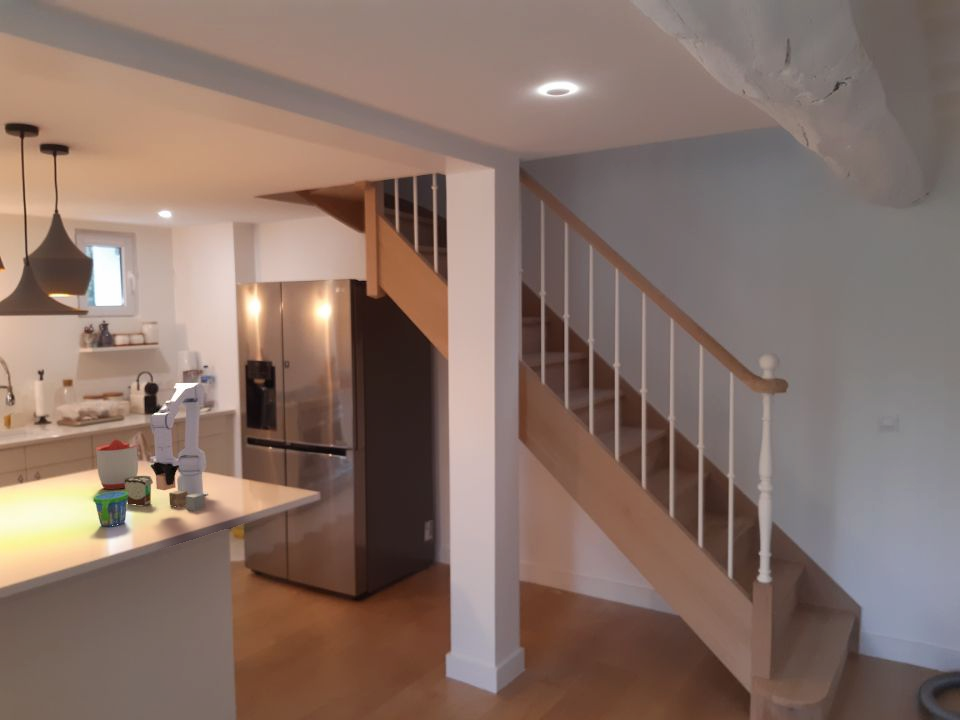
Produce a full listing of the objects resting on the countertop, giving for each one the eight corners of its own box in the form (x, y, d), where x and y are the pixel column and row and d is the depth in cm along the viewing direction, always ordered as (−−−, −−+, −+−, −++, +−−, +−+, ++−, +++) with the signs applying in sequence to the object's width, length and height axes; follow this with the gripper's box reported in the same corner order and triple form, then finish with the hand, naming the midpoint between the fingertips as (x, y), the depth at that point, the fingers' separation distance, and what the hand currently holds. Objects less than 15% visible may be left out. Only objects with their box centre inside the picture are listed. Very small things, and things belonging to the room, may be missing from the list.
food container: (161, 502, 276) (159, 476, 276) (148, 506, 271) (146, 480, 270) (138, 499, 282) (136, 474, 281) (124, 504, 276) (122, 477, 275)
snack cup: (119, 530, 243) (117, 500, 242) (86, 531, 242) (84, 501, 241) (137, 516, 258) (135, 488, 257) (106, 518, 257) (104, 489, 256)
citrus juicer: (151, 483, 309) (148, 436, 307) (112, 492, 294) (108, 443, 292) (129, 479, 317) (126, 433, 315) (90, 488, 302) (86, 440, 301)
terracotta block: (156, 488, 261) (155, 475, 261) (168, 486, 265) (167, 472, 265) (164, 490, 259) (163, 476, 258) (175, 487, 263) (174, 473, 262)
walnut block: (170, 506, 271) (169, 492, 271) (180, 503, 275) (180, 490, 275) (177, 507, 269) (176, 494, 269) (188, 504, 273) (187, 491, 272)
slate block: (186, 509, 266) (185, 495, 266) (197, 506, 270) (196, 493, 269) (194, 511, 263) (193, 497, 263) (205, 508, 267) (204, 494, 267)
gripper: (141, 446, 262) (143, 483, 263) (165, 449, 254) (167, 488, 255) (159, 443, 267) (161, 479, 268) (183, 446, 259) (185, 484, 260)
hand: (165, 483), depth 262 cm, fingers closed on terracotta block, 4 cm apart
